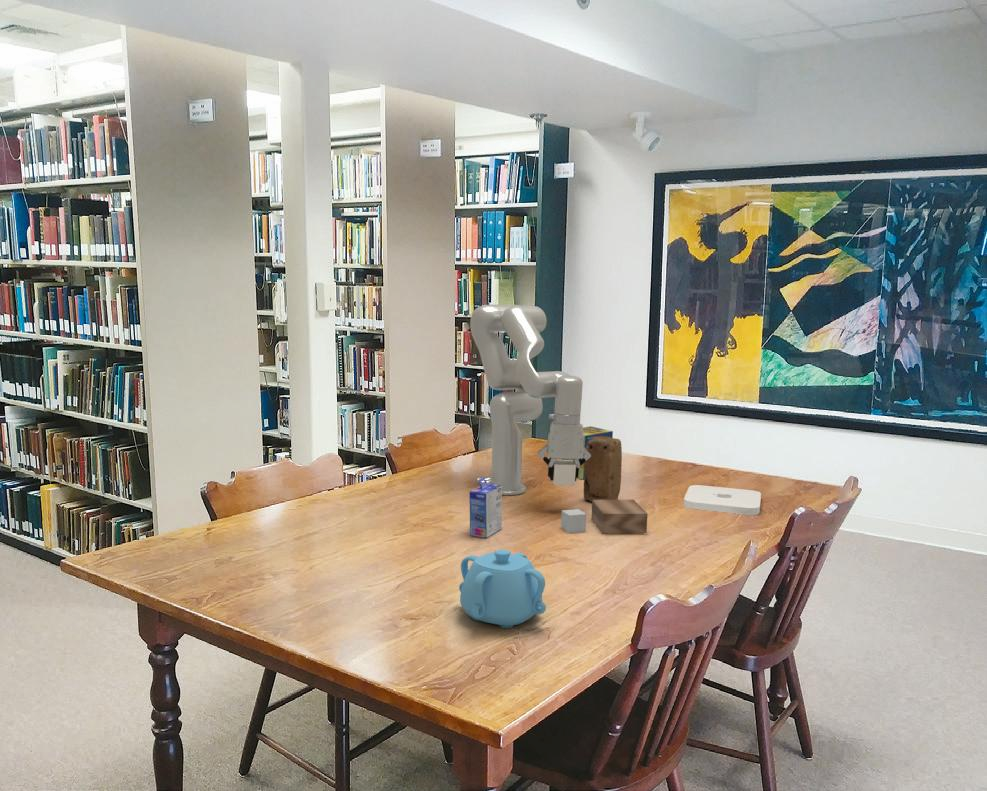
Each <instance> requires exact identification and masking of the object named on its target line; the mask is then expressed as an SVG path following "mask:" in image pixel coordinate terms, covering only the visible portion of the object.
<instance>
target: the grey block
mask: <svg viewBox="0 0 987 791" xmlns="http://www.w3.org/2000/svg"><path fill="white" fill-rule="evenodd" d="M560 520H561V523H560V528H561V529H562V528H563V529H564V530H563V529H562V530H563V531H565V532H566V531H567V532H568V533H567V532H566V533H567V534H576V533H575V532H578V533H586V530H587V513H585V512H584V511H582V510H581V509H579V508H575V509H565V510H561V519H560Z"/></svg>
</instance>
